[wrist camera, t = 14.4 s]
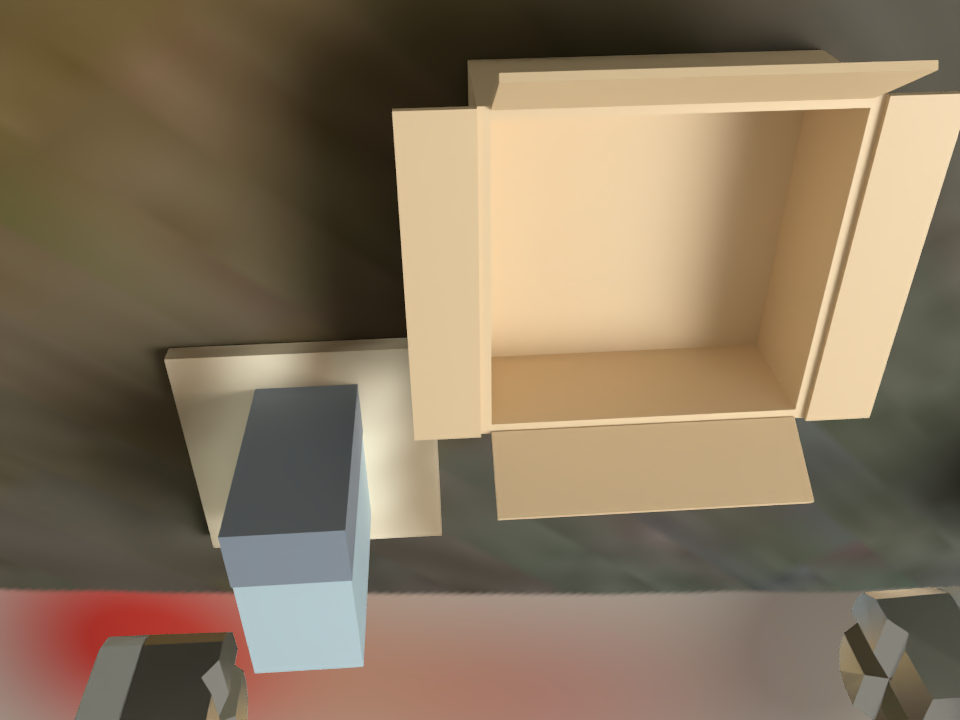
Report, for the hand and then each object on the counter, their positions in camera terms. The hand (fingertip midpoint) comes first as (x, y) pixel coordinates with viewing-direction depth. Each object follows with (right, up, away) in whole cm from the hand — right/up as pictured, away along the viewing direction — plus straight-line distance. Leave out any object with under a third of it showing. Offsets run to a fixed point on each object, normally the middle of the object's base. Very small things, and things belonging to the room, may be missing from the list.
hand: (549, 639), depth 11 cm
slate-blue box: (-10, -1, +34) cm, 36 cm away
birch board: (-10, -1, +35) cm, 36 cm away
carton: (+6, +10, +29) cm, 31 cm away
